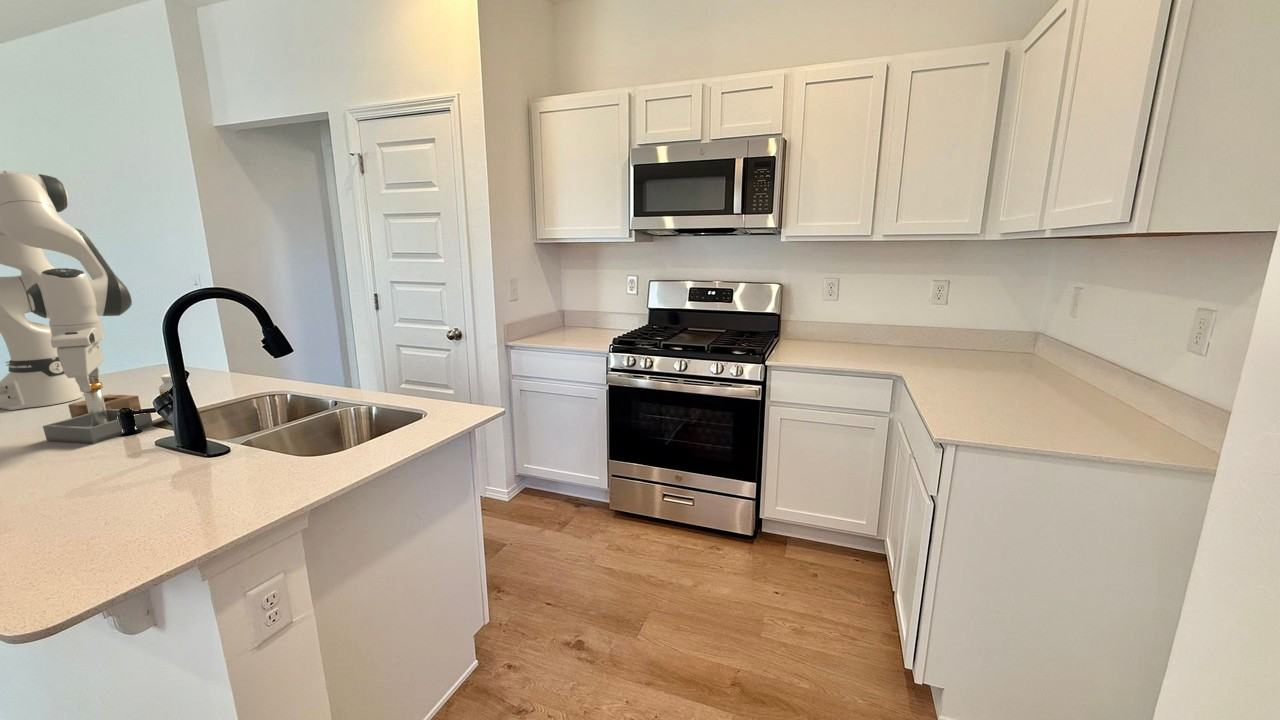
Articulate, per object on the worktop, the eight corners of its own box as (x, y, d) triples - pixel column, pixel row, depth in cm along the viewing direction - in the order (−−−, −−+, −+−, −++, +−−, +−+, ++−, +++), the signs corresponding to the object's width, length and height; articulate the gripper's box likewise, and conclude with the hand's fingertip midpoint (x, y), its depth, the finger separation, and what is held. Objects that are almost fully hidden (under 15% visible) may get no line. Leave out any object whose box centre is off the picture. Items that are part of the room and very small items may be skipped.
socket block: (72, 421, 144) (68, 404, 143) (112, 410, 154) (109, 394, 153) (102, 423, 143) (98, 406, 142) (141, 412, 152) (138, 395, 151)
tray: (46, 441, 130) (42, 425, 129) (109, 422, 144) (106, 408, 143) (93, 444, 128) (89, 428, 127) (153, 424, 142) (150, 411, 141)
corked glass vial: (89, 432, 133) (77, 386, 130) (92, 428, 136) (81, 383, 133) (110, 429, 135) (100, 384, 133) (113, 425, 138) (103, 381, 136)
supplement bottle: (170, 416, 149) (161, 373, 146) (199, 413, 151) (191, 370, 149) (161, 423, 143) (152, 378, 140) (191, 420, 145) (183, 376, 143)
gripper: (70, 329, 136) (83, 379, 139) (48, 342, 120) (62, 398, 124) (104, 327, 140) (115, 376, 143) (86, 339, 124) (99, 394, 127)
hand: (90, 387), depth 133 cm, fingers open, 8 cm apart
